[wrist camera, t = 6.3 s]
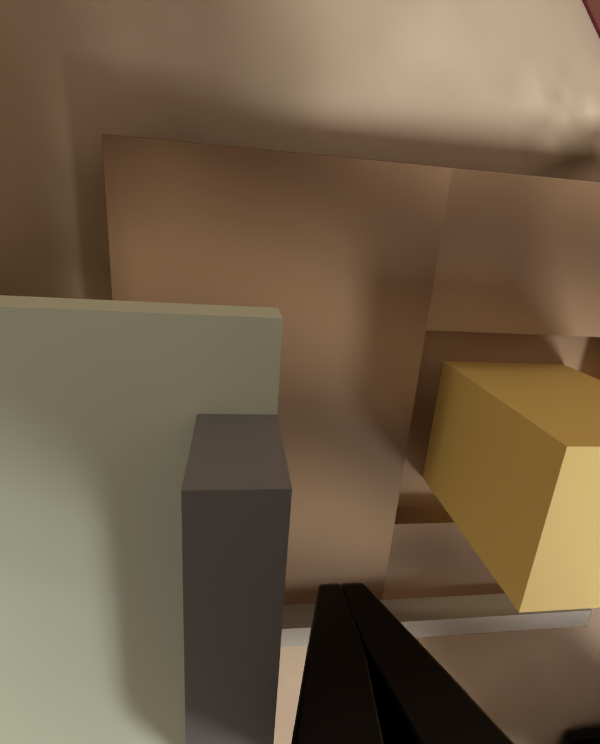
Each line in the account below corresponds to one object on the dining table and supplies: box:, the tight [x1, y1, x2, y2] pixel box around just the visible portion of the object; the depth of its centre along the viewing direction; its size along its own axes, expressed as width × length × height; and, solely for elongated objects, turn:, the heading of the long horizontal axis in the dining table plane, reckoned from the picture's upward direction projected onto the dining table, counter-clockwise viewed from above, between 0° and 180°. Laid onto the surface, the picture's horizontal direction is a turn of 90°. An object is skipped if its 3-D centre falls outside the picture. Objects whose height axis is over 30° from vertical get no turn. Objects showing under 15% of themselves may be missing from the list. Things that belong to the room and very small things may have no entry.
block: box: [423, 361, 600, 613], centre depth 13 cm, size 4×4×6 cm
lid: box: [0, 295, 292, 744], centre depth 9 cm, size 11×9×8 cm
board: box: [102, 134, 600, 647], centre depth 15 cm, size 16×17×2 cm
